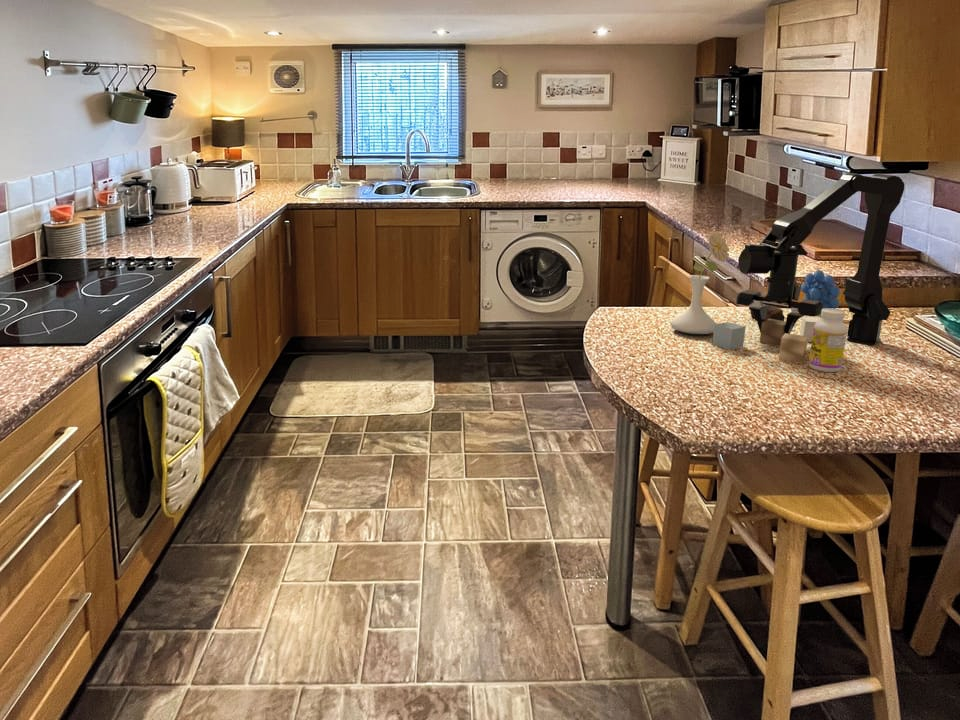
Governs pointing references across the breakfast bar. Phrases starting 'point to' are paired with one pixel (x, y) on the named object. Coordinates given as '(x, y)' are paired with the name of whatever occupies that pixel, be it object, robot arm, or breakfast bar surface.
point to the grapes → (821, 289)
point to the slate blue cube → (728, 335)
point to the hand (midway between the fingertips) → (774, 338)
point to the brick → (772, 313)
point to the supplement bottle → (828, 341)
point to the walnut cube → (772, 332)
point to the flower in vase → (695, 316)
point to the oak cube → (793, 348)
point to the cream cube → (808, 327)
